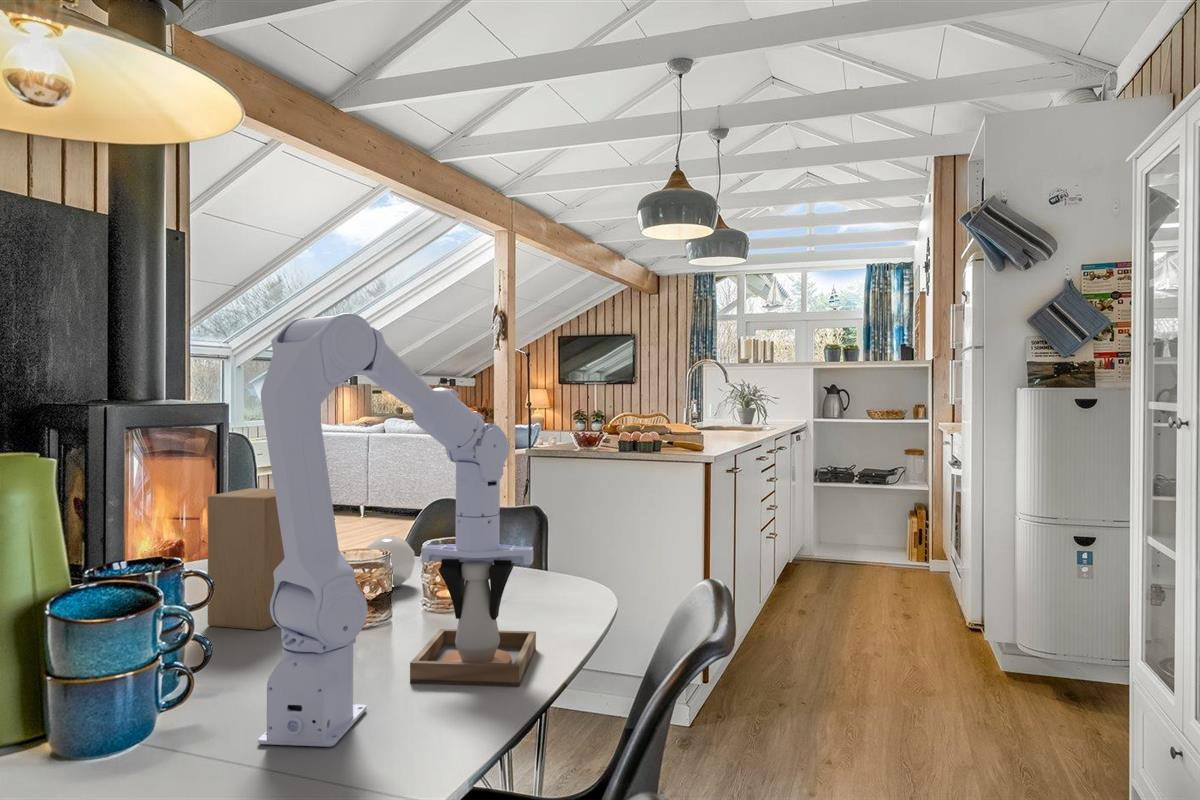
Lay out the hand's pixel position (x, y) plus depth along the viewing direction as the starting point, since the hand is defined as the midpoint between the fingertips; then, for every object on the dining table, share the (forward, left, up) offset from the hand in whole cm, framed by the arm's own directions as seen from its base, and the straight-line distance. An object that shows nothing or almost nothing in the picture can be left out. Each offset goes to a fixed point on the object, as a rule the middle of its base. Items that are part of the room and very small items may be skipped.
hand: (477, 617), depth 100 cm
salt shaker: (0, 0, -6) cm, 6 cm away
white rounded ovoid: (+35, +25, -7) cm, 44 cm away
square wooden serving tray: (0, 0, -6) cm, 6 cm away
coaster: (0, 0, -6) cm, 6 cm away
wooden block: (+17, +39, -7) cm, 43 cm away
